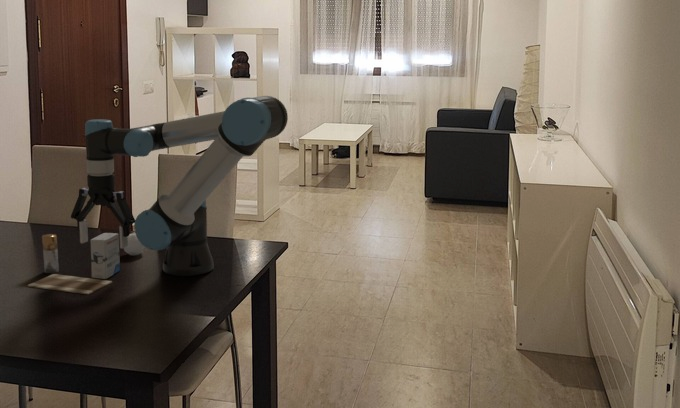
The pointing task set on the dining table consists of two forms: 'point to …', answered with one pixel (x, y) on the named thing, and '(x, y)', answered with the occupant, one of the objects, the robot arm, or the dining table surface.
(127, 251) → the ornament
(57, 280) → the panel
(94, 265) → the ink box
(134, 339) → the dining table surface
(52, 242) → the brown grey rounded cylinder
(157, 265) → the dining table surface
